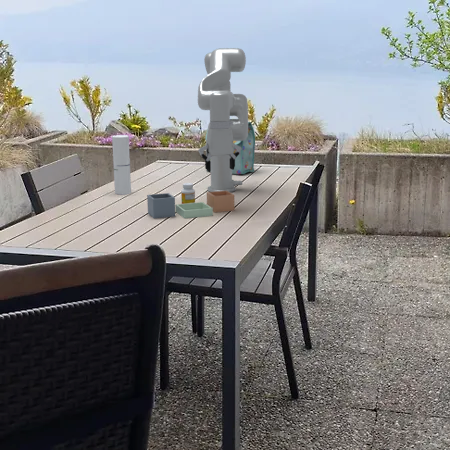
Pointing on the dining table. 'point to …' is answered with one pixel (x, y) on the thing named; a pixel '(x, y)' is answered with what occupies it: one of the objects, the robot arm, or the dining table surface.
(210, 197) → the terracotta square bin
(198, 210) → the green tray
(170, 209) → the grey square bin
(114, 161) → the cylindrical container
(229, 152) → the robot arm
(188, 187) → the supplement bottle
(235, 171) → the lunch bag
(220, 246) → the dining table surface
